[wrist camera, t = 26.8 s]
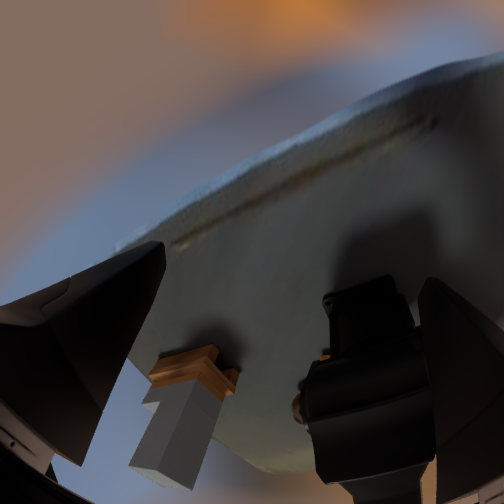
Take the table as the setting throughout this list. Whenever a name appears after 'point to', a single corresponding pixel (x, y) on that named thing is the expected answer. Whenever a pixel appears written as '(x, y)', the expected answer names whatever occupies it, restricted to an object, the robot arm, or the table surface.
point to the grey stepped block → (177, 430)
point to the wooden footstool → (196, 368)
